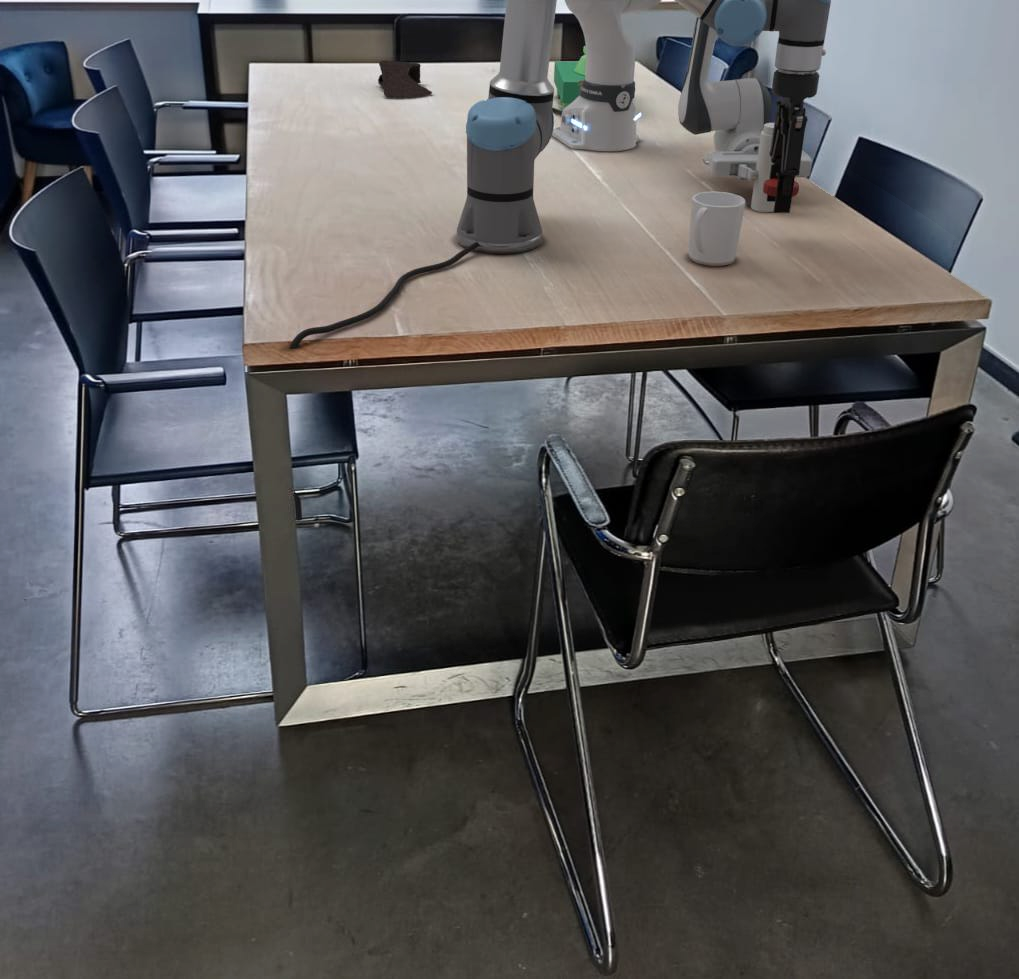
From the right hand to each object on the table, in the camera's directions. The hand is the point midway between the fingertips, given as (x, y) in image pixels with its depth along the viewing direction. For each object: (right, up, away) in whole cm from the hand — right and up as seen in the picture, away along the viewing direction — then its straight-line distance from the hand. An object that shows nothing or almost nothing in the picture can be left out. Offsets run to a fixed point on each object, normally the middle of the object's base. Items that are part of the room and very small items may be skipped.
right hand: (770, 175), depth 211 cm
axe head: (-79, +49, +89) cm, 129 cm away
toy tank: (-29, +43, +81) cm, 96 cm away
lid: (-2, -7, -18) cm, 19 cm away
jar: (0, -5, +4) cm, 7 cm away
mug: (-16, -21, -22) cm, 35 cm away
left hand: (-2, -10, -16) cm, 19 cm away
